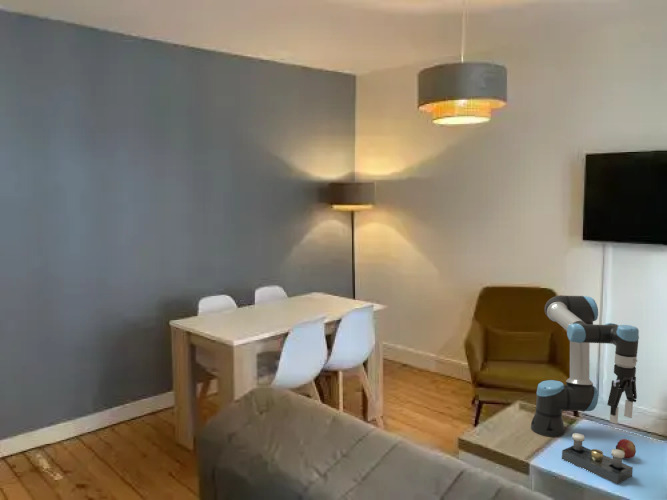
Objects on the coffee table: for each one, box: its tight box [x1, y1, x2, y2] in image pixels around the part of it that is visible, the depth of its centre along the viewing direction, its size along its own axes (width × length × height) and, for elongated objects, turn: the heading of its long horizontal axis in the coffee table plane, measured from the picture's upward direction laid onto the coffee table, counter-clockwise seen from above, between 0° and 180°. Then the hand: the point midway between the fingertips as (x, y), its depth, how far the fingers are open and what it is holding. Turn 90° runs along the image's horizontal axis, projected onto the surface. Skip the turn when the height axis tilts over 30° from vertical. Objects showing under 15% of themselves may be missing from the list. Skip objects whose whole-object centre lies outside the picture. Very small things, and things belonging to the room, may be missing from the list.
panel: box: [561, 445, 634, 485], centre depth 226 cm, size 24×11×4 cm, turn 34°
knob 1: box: [572, 432, 585, 451], centre depth 233 cm, size 5×5×6 cm
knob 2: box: [610, 448, 625, 468], centre depth 219 cm, size 5×5×6 cm
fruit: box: [615, 438, 637, 460], centre depth 235 cm, size 8×8×8 cm
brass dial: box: [590, 448, 604, 461], centre depth 226 cm, size 4×4×3 cm
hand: (620, 419), depth 217 cm, fingers open, 10 cm apart
